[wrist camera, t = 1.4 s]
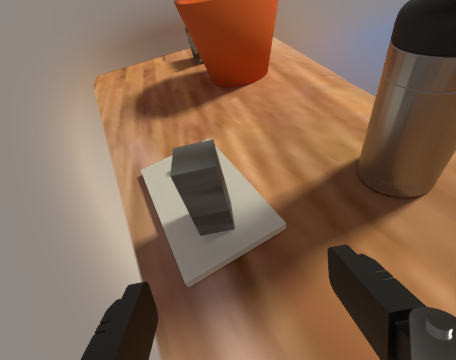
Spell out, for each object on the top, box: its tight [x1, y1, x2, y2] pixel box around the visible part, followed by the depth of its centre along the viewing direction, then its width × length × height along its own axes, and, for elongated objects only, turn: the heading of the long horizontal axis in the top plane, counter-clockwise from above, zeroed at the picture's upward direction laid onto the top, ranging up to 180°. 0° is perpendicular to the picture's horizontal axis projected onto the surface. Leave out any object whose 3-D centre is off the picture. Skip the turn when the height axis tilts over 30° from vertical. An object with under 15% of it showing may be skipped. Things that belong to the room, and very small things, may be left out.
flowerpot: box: [174, 0, 278, 87], centre depth 62 cm, size 25×25×20 cm
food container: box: [185, 26, 203, 64], centre depth 81 cm, size 12×6×10 cm, turn 22°
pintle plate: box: [141, 139, 286, 288], centre depth 36 cm, size 24×14×4 cm, turn 28°
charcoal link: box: [170, 140, 235, 236], centre depth 29 cm, size 5×5×11 cm
